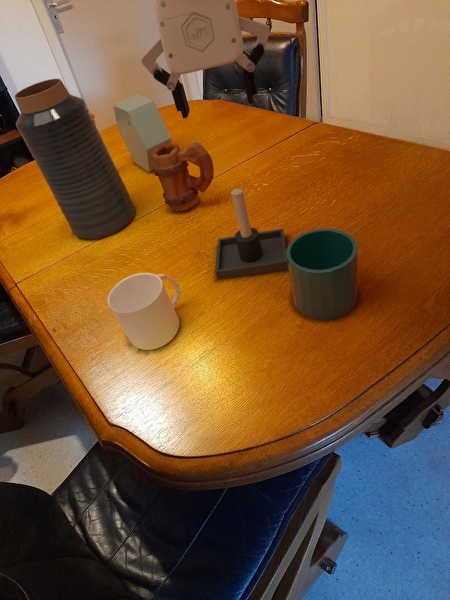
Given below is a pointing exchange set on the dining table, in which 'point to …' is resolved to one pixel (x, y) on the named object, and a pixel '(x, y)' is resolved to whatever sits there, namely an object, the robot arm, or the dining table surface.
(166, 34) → the robot arm
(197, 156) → the mug
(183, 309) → the dining table surface
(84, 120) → the vase
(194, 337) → the dining table surface
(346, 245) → the jar
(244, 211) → the brush
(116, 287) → the mug
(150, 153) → the pale green angular block
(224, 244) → the tray
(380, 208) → the dining table surface
